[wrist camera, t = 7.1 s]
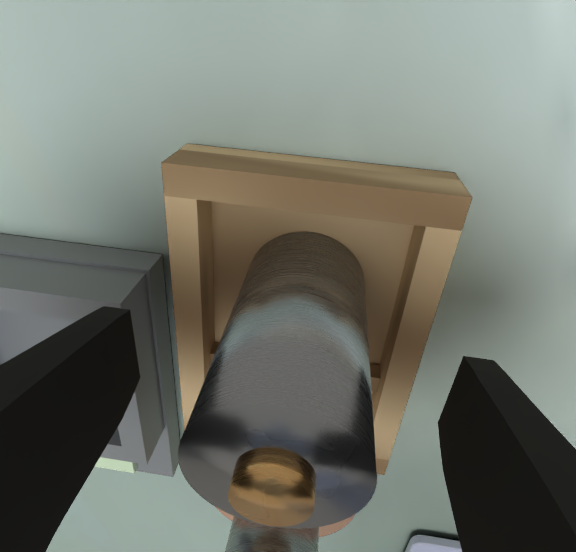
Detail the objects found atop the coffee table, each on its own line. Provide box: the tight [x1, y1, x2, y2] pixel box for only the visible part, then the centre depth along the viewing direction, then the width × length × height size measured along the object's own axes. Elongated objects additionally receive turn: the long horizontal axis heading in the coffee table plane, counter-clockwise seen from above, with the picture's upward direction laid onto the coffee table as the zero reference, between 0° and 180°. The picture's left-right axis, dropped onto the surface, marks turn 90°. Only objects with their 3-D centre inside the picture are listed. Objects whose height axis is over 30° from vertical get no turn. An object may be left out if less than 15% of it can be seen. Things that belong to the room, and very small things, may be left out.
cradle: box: [0, 234, 180, 477], centre depth 15 cm, size 10×7×3 cm
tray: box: [161, 144, 472, 475], centre depth 13 cm, size 10×7×2 cm
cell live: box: [178, 232, 377, 529], centre depth 9 cm, size 3×3×6 cm
